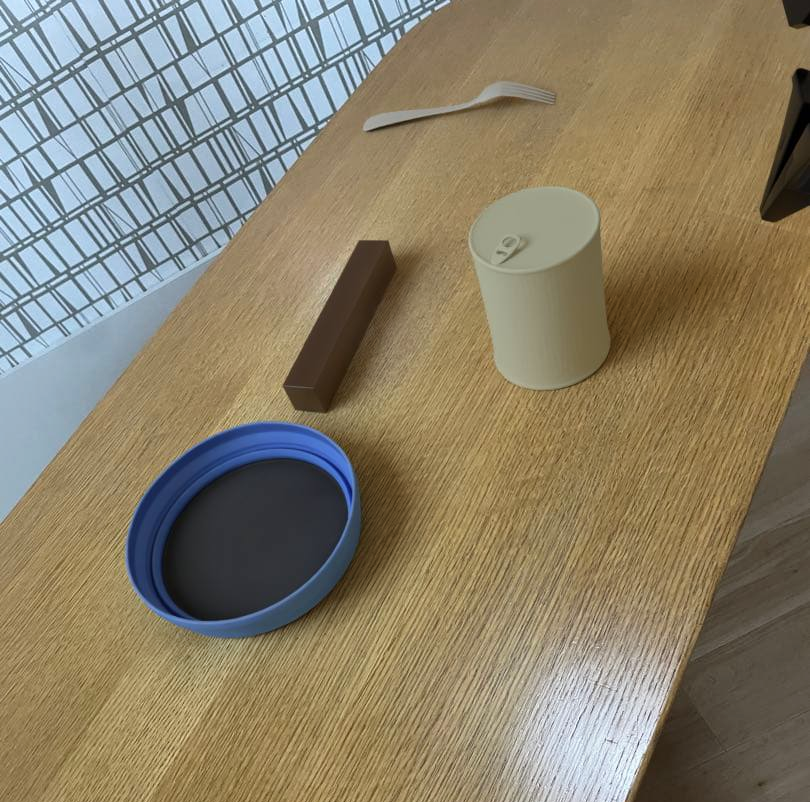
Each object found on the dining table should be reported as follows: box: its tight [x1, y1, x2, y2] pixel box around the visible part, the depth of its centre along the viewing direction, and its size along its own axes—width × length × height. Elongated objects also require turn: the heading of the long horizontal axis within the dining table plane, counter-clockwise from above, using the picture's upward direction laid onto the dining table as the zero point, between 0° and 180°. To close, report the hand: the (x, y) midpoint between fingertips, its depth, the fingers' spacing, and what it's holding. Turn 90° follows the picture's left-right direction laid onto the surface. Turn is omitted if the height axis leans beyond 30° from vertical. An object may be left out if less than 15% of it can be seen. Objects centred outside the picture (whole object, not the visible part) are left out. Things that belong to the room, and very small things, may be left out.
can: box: [468, 185, 612, 391], centre depth 62 cm, size 9×9×12 cm
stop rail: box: [282, 239, 397, 414], centre depth 73 cm, size 3×18×3 cm, turn 160°
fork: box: [362, 80, 556, 132], centre depth 90 cm, size 3×21×3 cm, turn 80°
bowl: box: [124, 420, 362, 639], centre depth 62 cm, size 18×18×4 cm
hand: (766, 217), depth 52 cm, fingers closed
